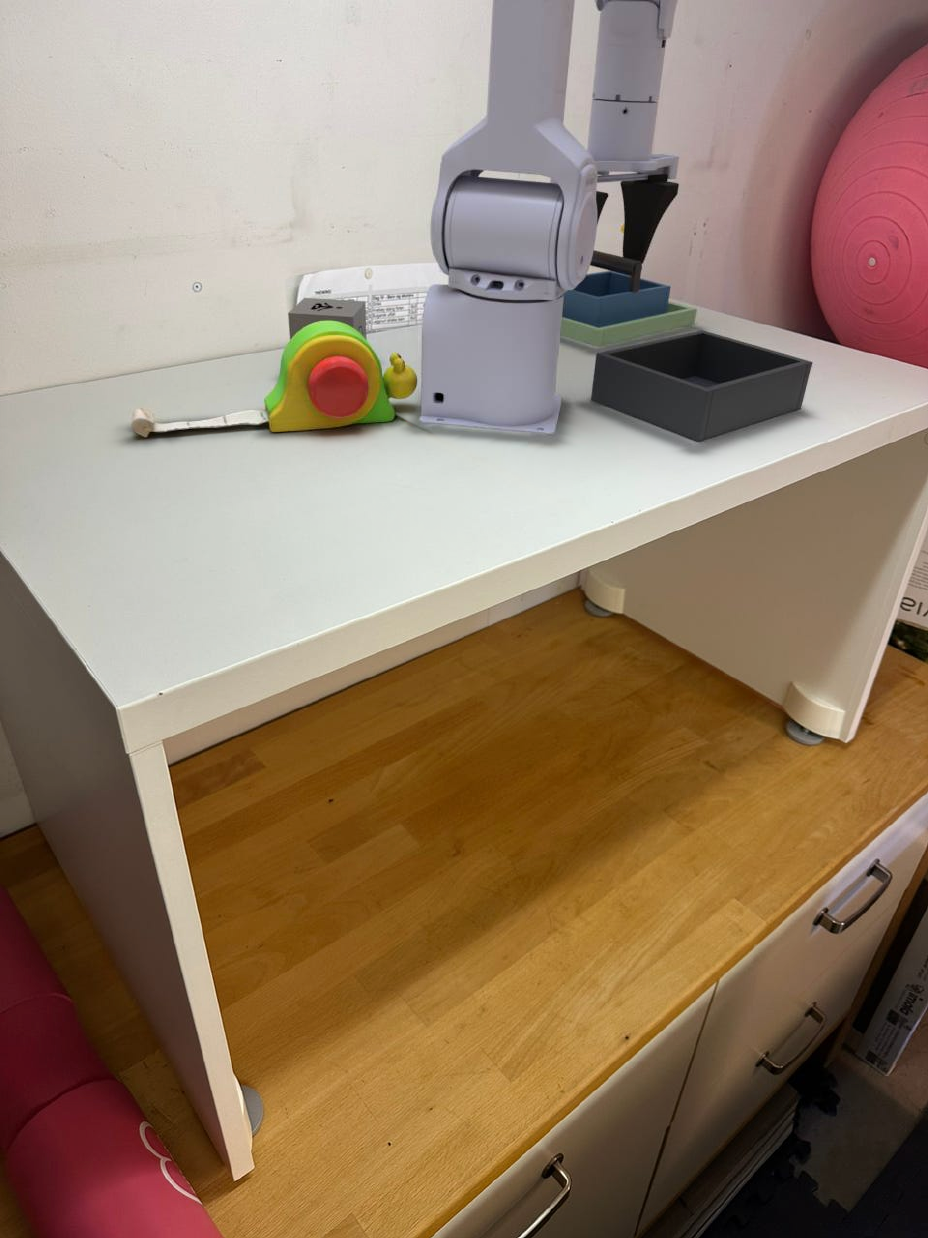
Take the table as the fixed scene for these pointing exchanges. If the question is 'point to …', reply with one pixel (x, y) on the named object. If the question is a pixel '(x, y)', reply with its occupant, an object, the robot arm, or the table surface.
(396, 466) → the table surface
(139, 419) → the toy measuring tape
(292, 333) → the dark gray cube
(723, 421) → the charcoal bin
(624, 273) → the blue bin
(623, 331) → the green tray
